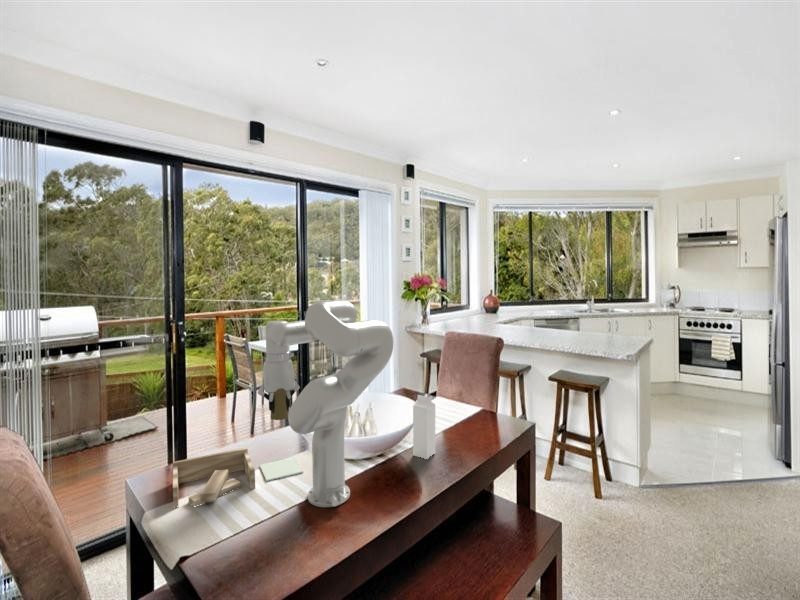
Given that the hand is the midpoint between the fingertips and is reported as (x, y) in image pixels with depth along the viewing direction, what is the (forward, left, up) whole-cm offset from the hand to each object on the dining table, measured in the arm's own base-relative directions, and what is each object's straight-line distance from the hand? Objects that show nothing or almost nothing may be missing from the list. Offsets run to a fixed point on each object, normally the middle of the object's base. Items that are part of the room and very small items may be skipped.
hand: (279, 410), depth 139 cm
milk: (-14, -49, -21) cm, 55 cm away
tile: (0, 0, -21) cm, 21 cm away
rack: (-1, +21, -21) cm, 30 cm away
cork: (0, 0, -2) cm, 2 cm away
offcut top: (-6, +21, -19) cm, 29 cm away
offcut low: (-6, +21, -21) cm, 31 cm away
